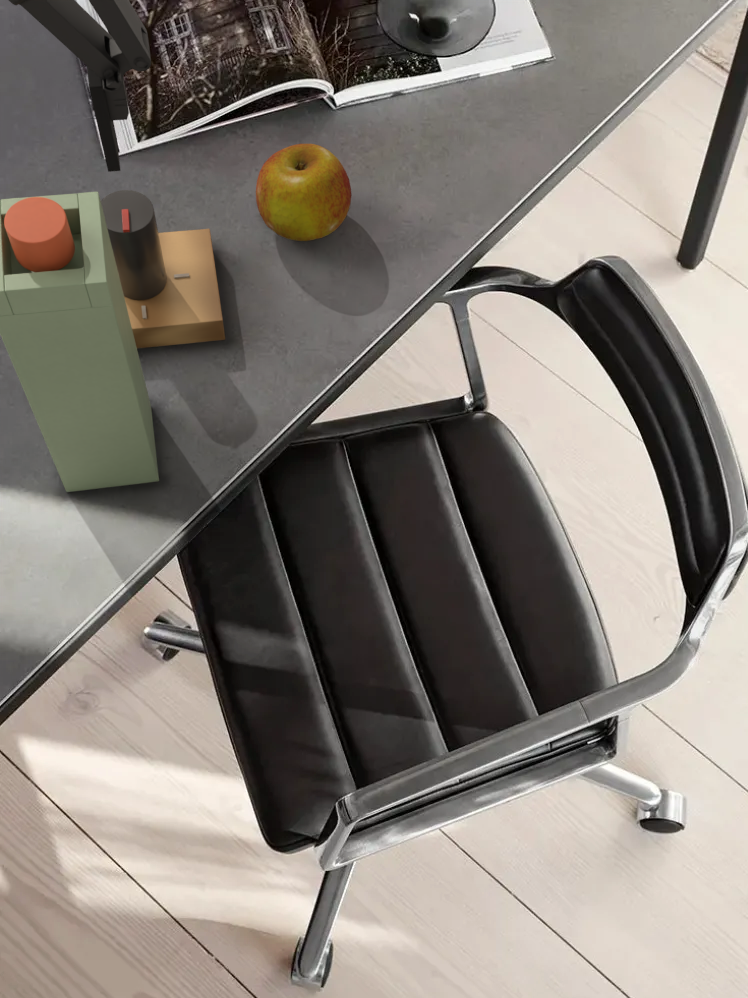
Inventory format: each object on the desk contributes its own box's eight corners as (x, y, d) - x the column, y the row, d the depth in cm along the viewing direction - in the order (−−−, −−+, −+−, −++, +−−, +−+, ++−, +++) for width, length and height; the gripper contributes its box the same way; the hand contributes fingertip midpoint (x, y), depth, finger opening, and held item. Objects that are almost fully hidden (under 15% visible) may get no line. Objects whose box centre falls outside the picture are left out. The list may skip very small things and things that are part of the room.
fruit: (306, 172, 116) (305, 110, 109) (369, 222, 114) (373, 163, 107) (238, 221, 113) (232, 161, 106) (302, 273, 111) (301, 216, 104)
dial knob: (113, 261, 106) (95, 188, 97) (165, 257, 106) (151, 185, 98) (115, 302, 104) (97, 232, 95) (168, 298, 104) (154, 228, 96)
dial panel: (73, 355, 105) (66, 334, 102) (66, 262, 109) (59, 239, 106) (225, 340, 107) (222, 319, 104) (212, 249, 111) (209, 226, 108)
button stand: (66, 492, 99) (-18, 293, 74) (61, 415, 102) (-22, 200, 77) (159, 481, 100) (106, 282, 75) (151, 406, 103) (98, 191, 79)
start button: (16, 276, 76) (4, 245, 73) (13, 230, 78) (2, 198, 75) (77, 270, 77) (68, 240, 74) (73, 225, 78) (64, 194, 76)
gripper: (-399, -146, 47) (-185, 224, 67) (171, -162, 51) (213, 193, 71) (-382, -255, 50) (-182, 131, 70) (155, -262, 54) (200, 105, 73)
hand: (16, 162), depth 70 cm, fingers open, 11 cm apart
